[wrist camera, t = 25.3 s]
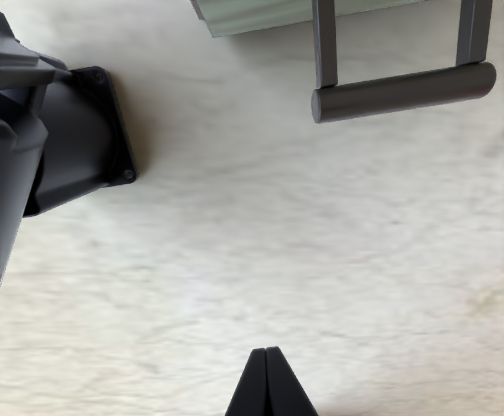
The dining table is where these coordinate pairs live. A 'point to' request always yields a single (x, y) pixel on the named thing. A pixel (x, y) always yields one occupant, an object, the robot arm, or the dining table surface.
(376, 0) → the drawer
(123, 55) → the dining table surface
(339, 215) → the dining table surface
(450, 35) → the dining table surface
